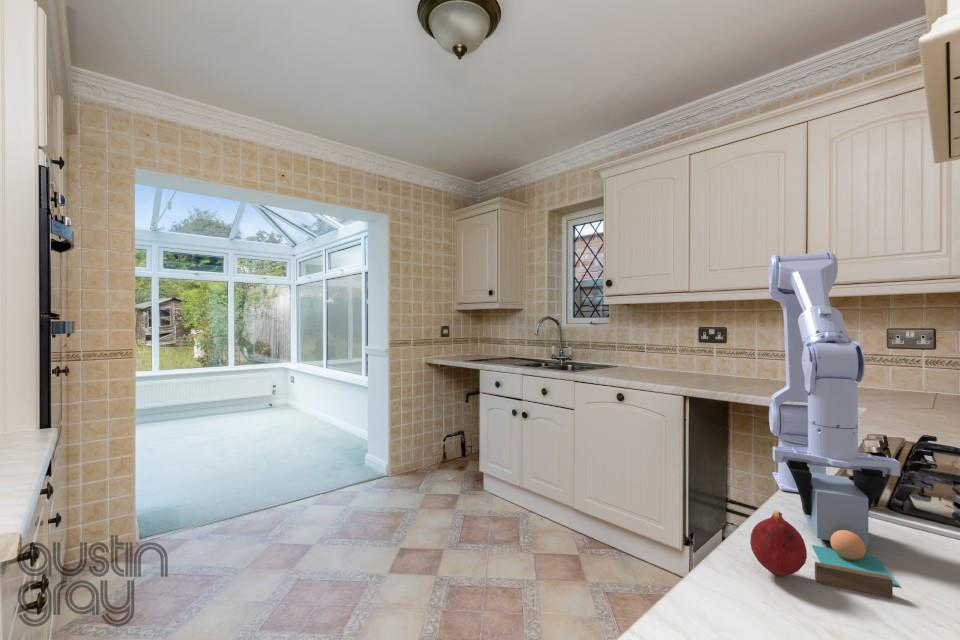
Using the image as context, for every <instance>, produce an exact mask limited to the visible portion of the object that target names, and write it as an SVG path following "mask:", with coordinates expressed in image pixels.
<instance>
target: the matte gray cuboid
mask: <svg viewBox="0 0 960 640" xmlns="http://www.w3.org/2000/svg"><path fill="white" fill-rule="evenodd" d="M811 474H812V479H811V492H810V496H811V508H812V509H811V515H806V514H805V513H804V511H803V510H802V514H803V515H804V518H805V519H806V521H807V524H808V525H809V526H810V528H811V530H812V532H813V534H814V535H815V536H816V539H819V540H820V539H821V540H824V541H825V540H826V541H830V540H831V536H832V535H833V533H835V532H836V531H839V530H847V531H851V532H853V533H855V534H856V535H858V536H859V537H860V538H861V539H862V541H863V542H864V544H865V547H866V548H869V545H870V544H869V542H870V540H869V537H870V536H869V535H870V533H869V512H868V497H867V496H866V495H865V494H864V493H863V492H862V491H861V490H860V489H859V488H858V487H857V486H856V485H855V484H854V481H852V480H851V479H850V478H849V477H848V476H842V475H835V474H834V475H833V474H827V473H826V474H818V473H811Z"/></svg>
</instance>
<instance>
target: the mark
mask: <svg viewBox="0 0 960 640" xmlns="http://www.w3.org/2000/svg"><path fill="white" fill-rule="evenodd" d="M811 547H812V549H813V551H814V553H815V554H816V557H817V558H818V561H819V562H820V563H825V564H830V565H835V566H840V567H846V568H851V569H856V570H861V571H867V572H872V573H877V574H882V575H887V576H890V578H891V579H892V580H893V587H897V588H900V584H899V583H898V582H897V581H896V580H895V578H894V576H892V574H891V573H890V571H889V570H888V569H887V568H886V567H885V565H884V564H883V562H881V560H880V559H879V557H878V556H877V555H876V556H875V555H871V554H866V553H865V555H864V556H863V557H862V558H861V559H859V560H847V559H844V558H842V557H841V556H839V555H838V554H837V553H836V552H835V551H834V550H833V548H832V547H827V546H821V545H816V544H815V545H814V544H811Z"/></svg>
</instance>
